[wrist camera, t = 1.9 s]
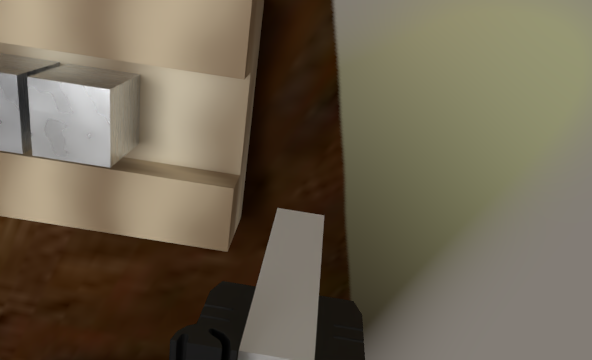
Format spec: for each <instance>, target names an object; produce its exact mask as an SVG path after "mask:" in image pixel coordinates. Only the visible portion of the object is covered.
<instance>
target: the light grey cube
mask: <svg viewBox="0 0 592 360" xmlns="http://www.w3.org/2000/svg"><path fill="white" fill-rule="evenodd" d="M27 84H28V98H29V113H30V127H31V142H32V156H38V157H45V158H51V159H58V160H64V161H70V162H77V163H83V164H90V165H96V166H103V167H109V168H111V167H112V166H113V165H114V164H115V163H117V162H118V161H119V160H120V159H121V158H123V157H124V156H125V155H126V154H127V153H128V152H130V151H131V150H132V149H133V148H134V147H136V146H137V145H138V144H139V127H140V74H134V73H128V72H121V71H115V70H108V69H102V68H95V67H88V66H82V65H75V64H65V65H62V66H59V67H56V68H53V69H50V70H47V71H43V72H40V73H37V74H34V75H31V76H28V77H27Z"/></svg>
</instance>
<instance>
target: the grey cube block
mask: <svg viewBox="0 0 592 360" xmlns="http://www.w3.org/2000/svg"><path fill="white" fill-rule="evenodd" d="M59 66H60V62H56V61H49V60H43V59H36V58H30V57H23V56H16V55H10V54H3V53H0V151H6V152H13V153H19V154H24V153H26V152H27V151H29V150H31V149H32V142H31V127H30V113H29V98H28V84H27V77H28V76H31V75H34V74H37V73H40V72H43V71H47V70H50V69H53V68H56V67H59Z"/></svg>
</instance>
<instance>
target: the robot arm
mask: <svg viewBox="0 0 592 360" xmlns="http://www.w3.org/2000/svg"><path fill="white" fill-rule="evenodd" d="M323 227H324V215H318V214H312V213H305V212H299V211H293V210H287V209H281V208H277V212H276V216H275V219H274V223H273V227H272V230H271V234H270V238H269V241H268V245H267V249H266V252H265V256H264V260H263V263H262V267H261V271H260V274H259V278H258V282H257V285H256V287H255V286H249V285H243V284H237V283H231V282H225V281H222V282H221V283H220V284H218V285H217V286H216V287H215V288H213V289H212V290H211V291H210V293H209V295H208V298H207V300H206V302H205V306H204V307H203V310H202V312H201V314H200V317H199V319H198V322H197V324H194V325H189V326H186V327H184V328H183V329H181V330H179V331H177V332H176V333H175V335H174V336H173V337H172V338H171V340H170V357H169V360H365V356H364V355H365V353H364V343H363V341H364V339H363V322H362V314H361V312H360V311H359V309H358V308H357V306H356V305H355V303H354V301H348V300H342V299H336V298H330V297H324V296H319V286H320V271H321V256H322V241H323Z"/></svg>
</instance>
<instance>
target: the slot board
mask: <svg viewBox="0 0 592 360" xmlns="http://www.w3.org/2000/svg"><path fill="white" fill-rule="evenodd" d="M263 7H264V0H0V53H3V54H10V55H16V56H23V57H30V58H36V59H43V60H49V61H56V62H60V66H62V65H65V64H75V65H82V66H88V67H95V68H102V69H108V70H115V71H121V72H128V73H134V74H140V127H139V144H138V145H137V146H136V147H134V148H133V149H132V150H131V151H130V152H128V153H127V154H126V155H125V156H124V157H123V158H121V159H120V160H119V161H118V162H117V163H115V164H114V165H113V166H112V167H111V168H109V167H103V166H96V165H90V164H83V163H77V162H70V161H64V160H58V159H51V158H45V157H38V156H32V149H31V150H29V151H27V152H26V153H24V154H19V153H13V152H6V151H0V216H5V217H11V218H17V219H24V220H30V221H36V222H43V223H49V224H55V225H62V226H68V227H74V228H81V229H87V230H93V231H100V232H106V233H112V234H119V235H125V236H131V237H138V238H144V239H150V240H157V241H163V242H169V243H176V244H182V245H188V246H195V247H201V248H207V249H214V250H220V251H226V252H228V249H229V247H230V244H231V242H232V239H233V236H234V234H235V231H236V229H237V226H238V224H239V221H240V219H241V213H242V204H243V195H244V185H245V176H246V166H247V157H248V148H249V138H250V129H251V120H252V110H253V101H254V91H255V82H256V73H257V63H258V54H259V45H260V35H261V26H262V16H263Z"/></svg>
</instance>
